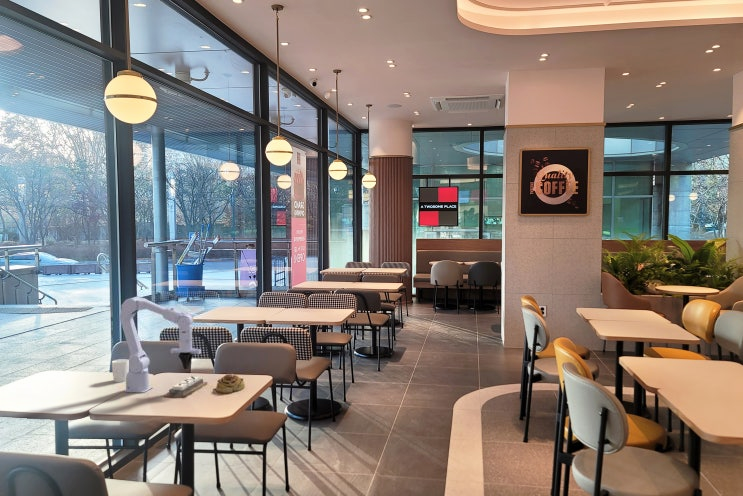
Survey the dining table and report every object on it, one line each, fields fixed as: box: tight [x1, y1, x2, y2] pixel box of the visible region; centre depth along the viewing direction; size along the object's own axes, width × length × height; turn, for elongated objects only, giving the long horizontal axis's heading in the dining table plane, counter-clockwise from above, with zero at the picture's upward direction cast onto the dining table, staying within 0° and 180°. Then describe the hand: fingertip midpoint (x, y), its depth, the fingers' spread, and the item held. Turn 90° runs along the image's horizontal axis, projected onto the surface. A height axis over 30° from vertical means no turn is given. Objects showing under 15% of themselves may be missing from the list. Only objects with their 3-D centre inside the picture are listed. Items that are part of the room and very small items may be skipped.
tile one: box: [172, 383, 187, 390], centre depth 243 cm, size 5×5×3 cm
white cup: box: [111, 358, 130, 383], centre depth 267 cm, size 8×8×10 cm
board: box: [164, 378, 208, 399], centre depth 249 cm, size 10×21×3 cm, turn 170°
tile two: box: [179, 379, 194, 386], centre depth 249 cm, size 5×5×3 cm
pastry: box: [215, 373, 246, 395], centre depth 251 cm, size 13×15×8 cm
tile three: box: [185, 375, 201, 383], centre depth 255 cm, size 5×5×3 cm
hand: (186, 368), depth 251 cm, fingers closed
